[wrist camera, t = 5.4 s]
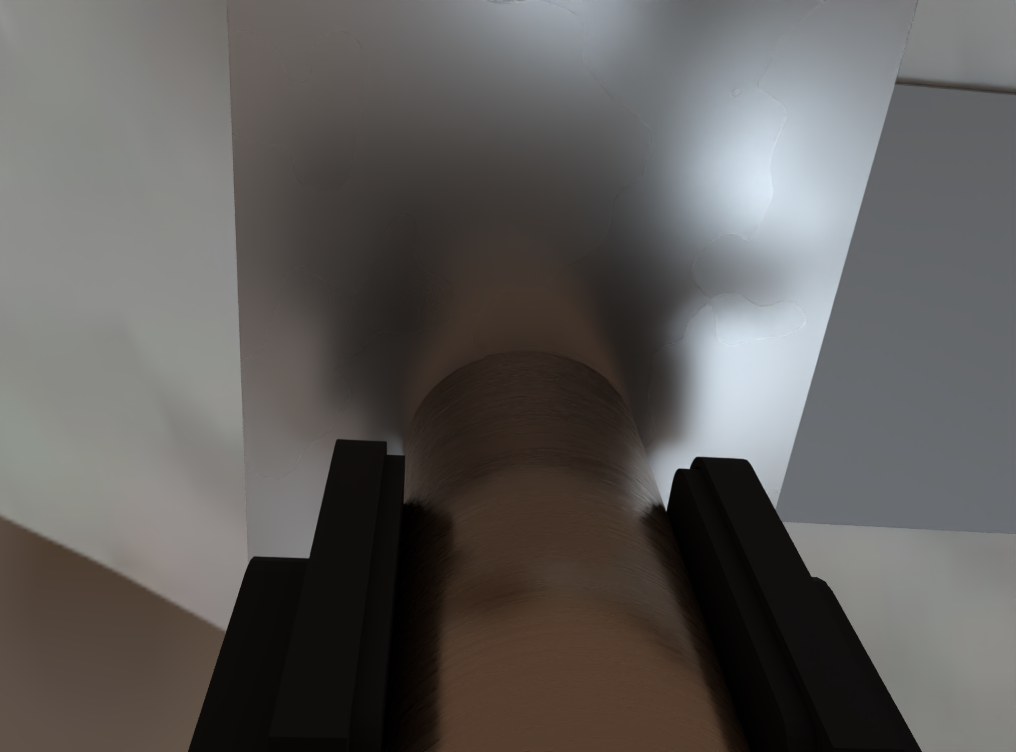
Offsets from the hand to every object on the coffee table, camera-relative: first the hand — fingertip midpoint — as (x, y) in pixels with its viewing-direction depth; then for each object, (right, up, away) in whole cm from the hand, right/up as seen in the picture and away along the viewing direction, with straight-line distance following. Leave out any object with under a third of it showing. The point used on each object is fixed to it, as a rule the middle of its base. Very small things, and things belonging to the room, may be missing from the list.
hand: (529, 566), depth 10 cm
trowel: (0, +4, +1) cm, 4 cm away
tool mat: (+14, +3, +17) cm, 23 cm away
